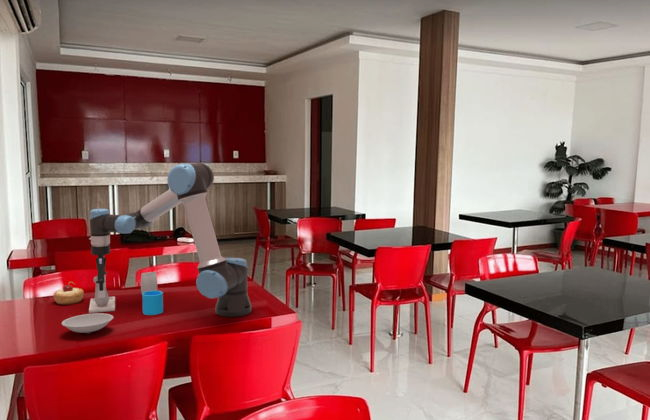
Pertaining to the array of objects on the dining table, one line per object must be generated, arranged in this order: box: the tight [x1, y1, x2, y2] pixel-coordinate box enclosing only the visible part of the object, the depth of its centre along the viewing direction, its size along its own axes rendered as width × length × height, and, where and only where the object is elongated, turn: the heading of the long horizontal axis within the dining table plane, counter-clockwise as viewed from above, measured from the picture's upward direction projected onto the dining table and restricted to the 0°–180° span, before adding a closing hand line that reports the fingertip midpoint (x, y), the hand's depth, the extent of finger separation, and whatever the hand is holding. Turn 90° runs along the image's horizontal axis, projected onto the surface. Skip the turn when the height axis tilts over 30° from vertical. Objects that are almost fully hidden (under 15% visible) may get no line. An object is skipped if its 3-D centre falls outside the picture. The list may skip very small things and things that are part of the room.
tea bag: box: [140, 271, 158, 295], centre depth 248 cm, size 4×7×10 cm, turn 120°
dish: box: [61, 312, 114, 334], centre depth 195 cm, size 18×14×5 cm
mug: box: [141, 290, 164, 316], centre depth 222 cm, size 12×8×8 cm
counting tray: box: [88, 296, 116, 314], centre depth 227 cm, size 17×10×2 cm, turn 21°
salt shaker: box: [93, 275, 110, 307], centre depth 226 cm, size 6×6×13 cm
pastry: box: [53, 281, 84, 306], centre depth 233 cm, size 12×12×9 cm
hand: (102, 293), depth 227 cm, fingers open, 13 cm apart
